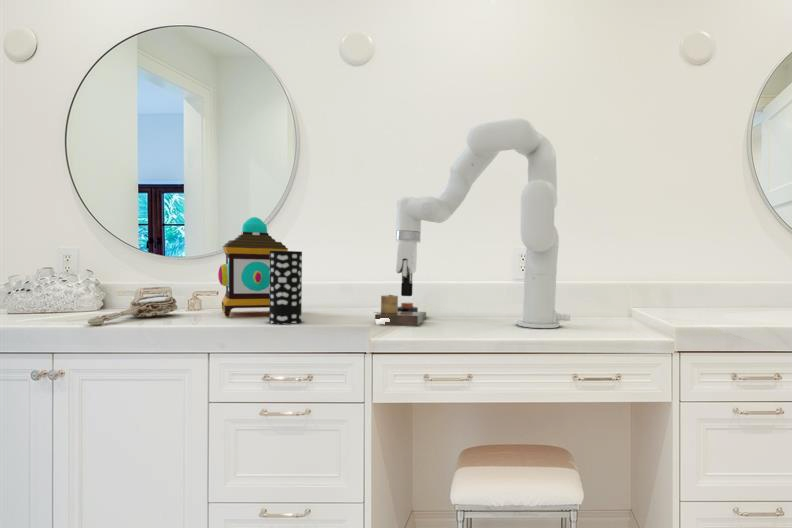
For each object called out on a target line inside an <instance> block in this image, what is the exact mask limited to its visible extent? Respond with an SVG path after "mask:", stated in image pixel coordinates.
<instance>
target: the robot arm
mask: <svg viewBox="0 0 792 528" xmlns="http://www.w3.org/2000/svg"><path fill="white" fill-rule="evenodd" d="M466 144H467V145H466V147H465V148H464V149H463V150H462V152H461V153H460V154H459V156H458V157H457V158H456V159H455V160H454V161H453V162H452V163H451V166H450V169H449V178H448V181H447V183H446V186H445V187H444V188H443V190H442V191H441V192H440V193H439V195H438V196H437V197H434V196H421V197H413V196H401V197H398V199H397V200H396V225H395V226H396V227H395V229H396V230H395V242H397V243H398V244H397V252H396V266H395V267H396V268H395V272H396V274H401V286H400V287H401V288H400V291H401V293H400V295H401V297H412V296H413V286H414V285H413V284H414V283H413V278H414V277H413V275H414V273H416V271H417V263H418V262H417V257H418V256H417V255H418V249H417V248H418V243H421V237H422V236H421V235H422V233H421V232H422V221H424V222H429V223H436V224H442V223H444V222H446V221H447V220H449V219H450V217H452V215H453V214H454V213H455V212H456V211H457V210H458V208H459V207H461V205H462V203H463V202H464V201H465V199H466V197H467V195H468V194H469V192H470V191H471V188H472V186H473V185H474V183H475V182H476V181H477V180H478V178H479V177H480V176H481V175H482V174H483V172H484V171H485V170H486V169H487V168H488V167H489V166H490V164H491V163H492V162H493V161H494V159H496V157H497V156H498V154H499V153H500V152H503V151H504V152H505V151H511V150H514V151H515V153H517V154H519V155H521V156H524V157H525V158H526V159H527V184H526V185H525V186H524V187H523V189H522V192H521V194H520V195H521V196H520V238H521V242H522V244H523V245H524V247H525V248H526V249H525V261H524V279H523V282H524V283H523V284H524V285H523V308H522V309H523V310H522V319H519V320H518V321H517V326H520V327H524V328H532V329H555V328H559V327H560V324H561V323H560V321H564V322H571V314H563V313H558V312H557V311H556V294H557V293H556V292H557V271H558V256H559V255H558V253H559V243H560V238H559V237H560V236H559V231H558V229H557V228H556V226H555V209H556V207H557V205H558V184H557V183H558V182H557V181H558V179H557V177H558V176H557V154H556V149H555V147H554V145H553V144H552V142H551V140H549V138H547V137H546V136H545V135H544V134H542V133H540V132H539V131H538V130H537V129H536V128H535V127H534V125H533V124H532V123H531V122H530V121H529V120H527V119H524V118H510V119H509V118H508V119H503V120H497V121H496V120H495V121H489V122H483V123H479V124H476V125H475V126H473V127H472V128H470V129H469V130H468V133H467V136H466Z"/></svg>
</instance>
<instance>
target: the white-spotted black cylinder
mask: <svg viewBox="0 0 792 528" xmlns="http://www.w3.org/2000/svg"><path fill="white" fill-rule="evenodd" d="M302 289H303V251H297V250H296V251H295V250H288V251H270V302H269V309H268V310H269V311H268V313H269V316H268V317H269V320H268V321H269V323H270V324H272V323H275V324H274V325H280V324H279V323H297V324H300V323H299V322H301V323H302V306H303V305H302V304H303V303H302V298H303V297H302V296H303V295H302V293H303V291H302ZM277 323H278V324H277Z"/></svg>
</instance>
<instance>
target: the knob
mask: <svg viewBox="0 0 792 528" xmlns="http://www.w3.org/2000/svg"><path fill="white" fill-rule="evenodd" d="M398 307H399V295H397V294H396V295H395V294H382V295H380V312H381V313H385V314H395V313H398Z"/></svg>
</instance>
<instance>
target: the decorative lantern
mask: <svg viewBox="0 0 792 528" xmlns="http://www.w3.org/2000/svg"><path fill="white" fill-rule="evenodd" d="M222 251H223V252H224V254H225V263H223V264H221V265H220V266H219V268H218V273H217V276H218V278H217V279H218V282H219V284H220V285H221V286H223V287H225V288H226V289H225V294H224V295H223V297H222V300H221V310H222V312H223V313H224V316H225V317H226V318H231V312H232V310H233V309H255V308H256V309H261V308H263V309H264V308H267V309H268V308H269V302H270V251H289V248H287V247H286V245H285V244H283V242H281V241H276V239H275V238H273V237H272V236H271V235H269V232H268V227H267V224H266V223H265V222H264V220H262V219H260V218H259V217H256V216H253V217H252V216H251V217H249V218H248V219H247V220H246V221H245V222H244V223H243V224H242V227H241V234H239V235H238V236H237V237H234V239H232V240H228V241H227V242H226V243H224V245H223V246H222Z"/></svg>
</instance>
